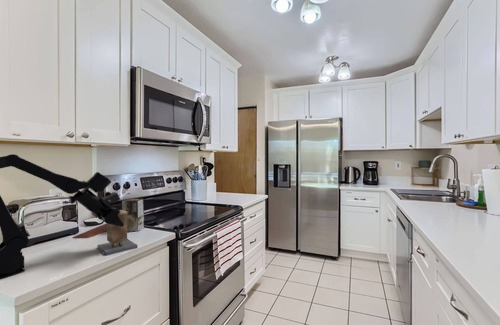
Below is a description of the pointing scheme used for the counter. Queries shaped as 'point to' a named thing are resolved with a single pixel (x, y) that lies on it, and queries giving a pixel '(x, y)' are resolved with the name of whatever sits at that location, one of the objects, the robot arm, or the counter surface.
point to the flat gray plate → (116, 247)
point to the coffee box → (134, 213)
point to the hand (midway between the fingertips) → (120, 224)
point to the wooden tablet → (93, 232)
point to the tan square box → (118, 229)
